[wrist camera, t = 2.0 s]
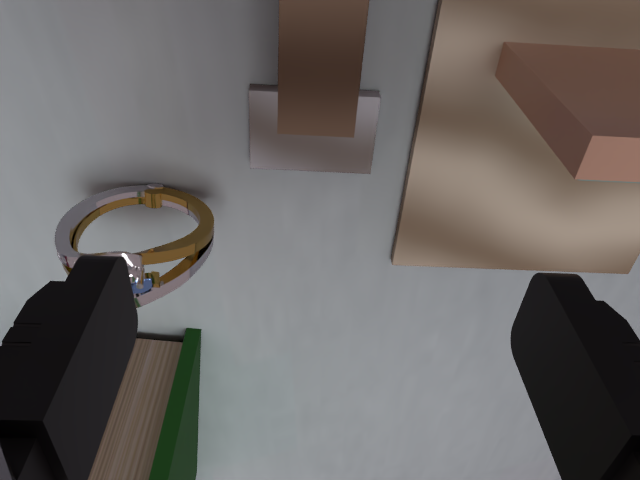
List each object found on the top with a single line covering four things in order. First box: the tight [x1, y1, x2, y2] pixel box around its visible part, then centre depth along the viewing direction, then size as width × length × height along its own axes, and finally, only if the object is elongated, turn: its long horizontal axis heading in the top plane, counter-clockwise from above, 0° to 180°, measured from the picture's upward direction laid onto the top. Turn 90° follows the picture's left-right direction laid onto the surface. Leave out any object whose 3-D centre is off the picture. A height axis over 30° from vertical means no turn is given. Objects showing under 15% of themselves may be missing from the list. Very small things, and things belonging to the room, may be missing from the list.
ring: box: [55, 183, 214, 308], centre depth 25 cm, size 7×3×8 cm, turn 82°
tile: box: [495, 42, 640, 183], centre depth 20 cm, size 2×8×9 cm, turn 87°
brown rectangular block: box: [249, 0, 381, 174], centre depth 22 cm, size 10×6×5 cm, turn 176°
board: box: [391, 0, 640, 274], centre depth 26 cm, size 16×14×1 cm
